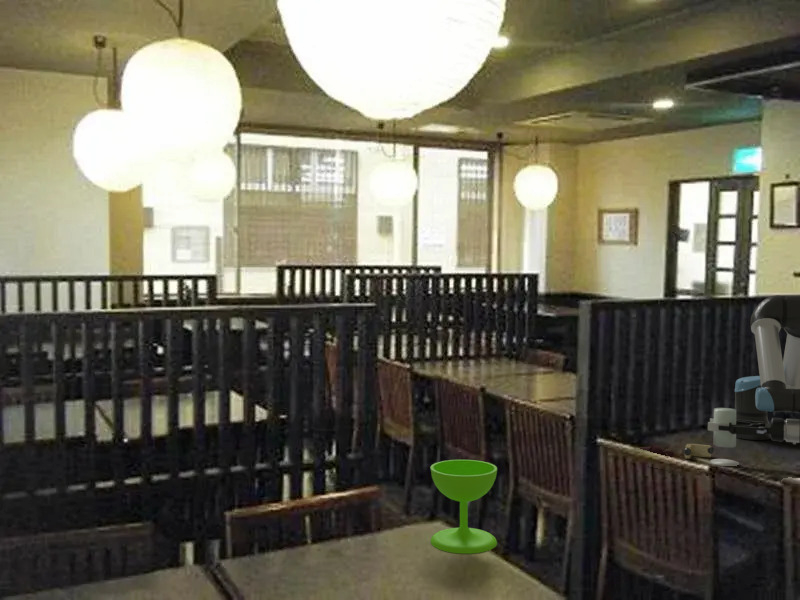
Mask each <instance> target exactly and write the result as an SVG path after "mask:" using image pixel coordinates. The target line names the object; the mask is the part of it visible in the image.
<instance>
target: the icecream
mask: <svg viewBox="0 0 800 600" xmlns="http://www.w3.org/2000/svg"><path fill="white" fill-rule="evenodd" d="M638 448H640V449H643V450H647V451H650V452H653V453H657V454H661V455H665V456H670V457H671V458H674V456H675V453H674V451H672V450H669V449H668V450H665V449H664V448H663V447H661V446H659V445H657V443H654V444H651V446H641V447H638Z"/></svg>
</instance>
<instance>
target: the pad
mask: <svg viewBox="0 0 800 600" xmlns="http://www.w3.org/2000/svg"><path fill="white" fill-rule="evenodd" d="M709 463H710V464H711V465H713V466H717V467H723V466H736V467H738V466H737V465H739V466H740V462H739V461H736V460H733V459H726V458H714V459H710V460H709Z"/></svg>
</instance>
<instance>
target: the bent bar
mask: <svg viewBox="0 0 800 600" xmlns="http://www.w3.org/2000/svg"><path fill="white" fill-rule="evenodd" d="M715 452H716V451H715V448H714V446H712V445H710V444H701V443H700V444H699V443H689V442H688V443H686V445H685V446H684V449H683V454H684V459H687V460H690V459H691V458H692V457H701V458H711V457H712V455H713V454H714V453H715Z"/></svg>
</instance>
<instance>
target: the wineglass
mask: <svg viewBox="0 0 800 600" xmlns="http://www.w3.org/2000/svg"><path fill="white" fill-rule="evenodd" d="M430 472H431V473H430V474H431V479H432V481H433V483H434V486H435V487H436V488H437V489H438V491H439V492H440V493H441V494H442V495H444V496H445V497H447V498H448V499H450V500H451V501H455V502H459V527H450V528H446V529H441V530H439V531H437V532H436V533H434V534H433V536H432V537H431V538H430V544H431V545H432V546H433V547H434V548H435V549H436V550H437V549H438V550H441V551H443V552H447V553H451V554H472V555H473V554H480V553H484V552H489V551H490V550H493V549H494V548H496V547H497V545H498V541H497V539H496V537H495V536H494V535H493V534H492V533H490V532H488V531H486V530H482V529H479V528H473V527H469V525H468V524H469V522H468V521H469V518H468V515H469V514H468V512H469V511H468V509H469V507H468V506H469V505H468V504H469V502H472V501H473V502H474V501H476V500H479V499H480V498H482V497H483V496H485V495H486V494H488V493H489V491H490V490H491V488H492V487H493V486H494V483H495V481H496V478H497V474H498V467H497V466H496V465H495V464H494V463H491V462H487V461H482V460H474V459H449V460H442V461H439V462H438V461H437V462H434V463H433V464H431V466H430Z"/></svg>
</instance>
